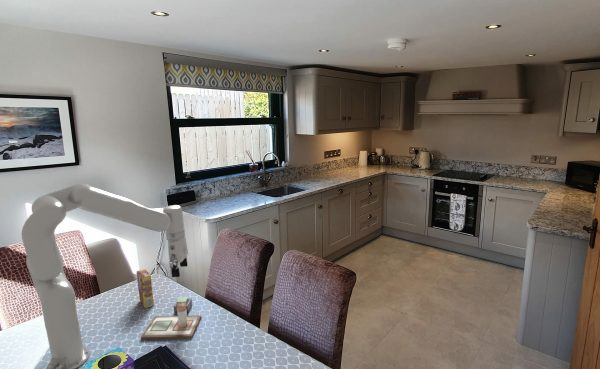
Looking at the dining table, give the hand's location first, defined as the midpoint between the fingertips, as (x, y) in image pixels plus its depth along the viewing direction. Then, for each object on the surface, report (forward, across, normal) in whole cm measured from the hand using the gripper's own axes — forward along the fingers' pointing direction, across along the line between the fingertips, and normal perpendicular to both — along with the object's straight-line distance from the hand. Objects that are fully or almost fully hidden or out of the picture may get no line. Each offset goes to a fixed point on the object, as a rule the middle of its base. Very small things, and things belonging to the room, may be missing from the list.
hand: (180, 271), depth 152 cm
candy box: (+19, +7, +20) cm, 29 cm away
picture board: (+19, -13, +1) cm, 23 cm away
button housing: (+19, +1, +1) cm, 19 cm away
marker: (+18, -12, -4) cm, 22 cm away
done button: (+17, +1, +1) cm, 17 cm away
